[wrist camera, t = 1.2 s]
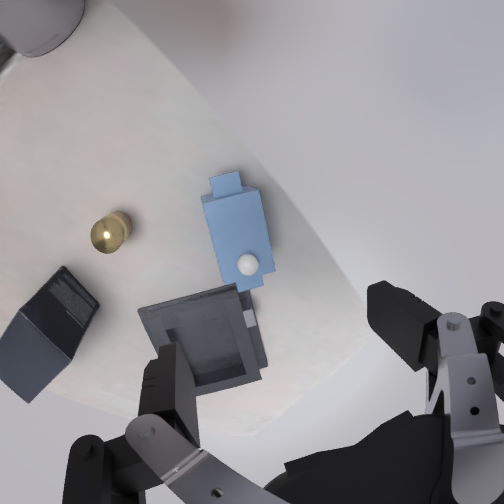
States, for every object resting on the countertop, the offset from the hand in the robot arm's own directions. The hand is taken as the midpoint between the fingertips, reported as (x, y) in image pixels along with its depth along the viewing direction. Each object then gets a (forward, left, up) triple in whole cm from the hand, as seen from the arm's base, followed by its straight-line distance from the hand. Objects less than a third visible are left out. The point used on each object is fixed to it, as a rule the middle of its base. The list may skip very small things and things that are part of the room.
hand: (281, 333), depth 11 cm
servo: (0, +1, -18) cm, 18 cm away
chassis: (+12, -5, -18) cm, 22 cm away
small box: (+4, -21, -18) cm, 28 cm away
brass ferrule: (-3, -10, -18) cm, 21 cm away
